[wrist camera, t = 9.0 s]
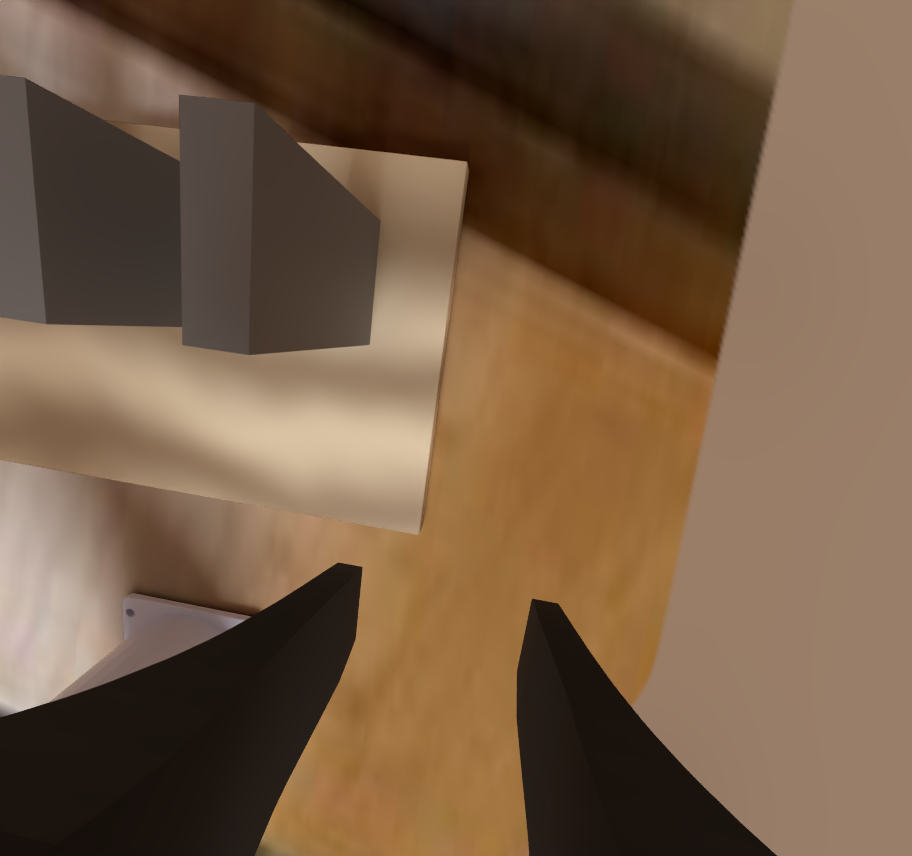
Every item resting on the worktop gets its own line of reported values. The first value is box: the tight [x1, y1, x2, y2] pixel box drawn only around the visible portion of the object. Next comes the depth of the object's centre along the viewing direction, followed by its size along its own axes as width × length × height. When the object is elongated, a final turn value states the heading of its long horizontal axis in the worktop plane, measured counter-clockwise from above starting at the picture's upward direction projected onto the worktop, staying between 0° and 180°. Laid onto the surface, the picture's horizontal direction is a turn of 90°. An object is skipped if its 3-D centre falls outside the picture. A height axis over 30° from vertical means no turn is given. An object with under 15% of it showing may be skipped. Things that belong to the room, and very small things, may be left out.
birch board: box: [0, 120, 469, 535], centre depth 20 cm, size 16×30×1 cm, turn 82°
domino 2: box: [179, 95, 381, 355], centre depth 13 cm, size 2×5×9 cm, turn 172°
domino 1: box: [0, 75, 182, 327], centre depth 14 cm, size 2×5×9 cm, turn 172°
